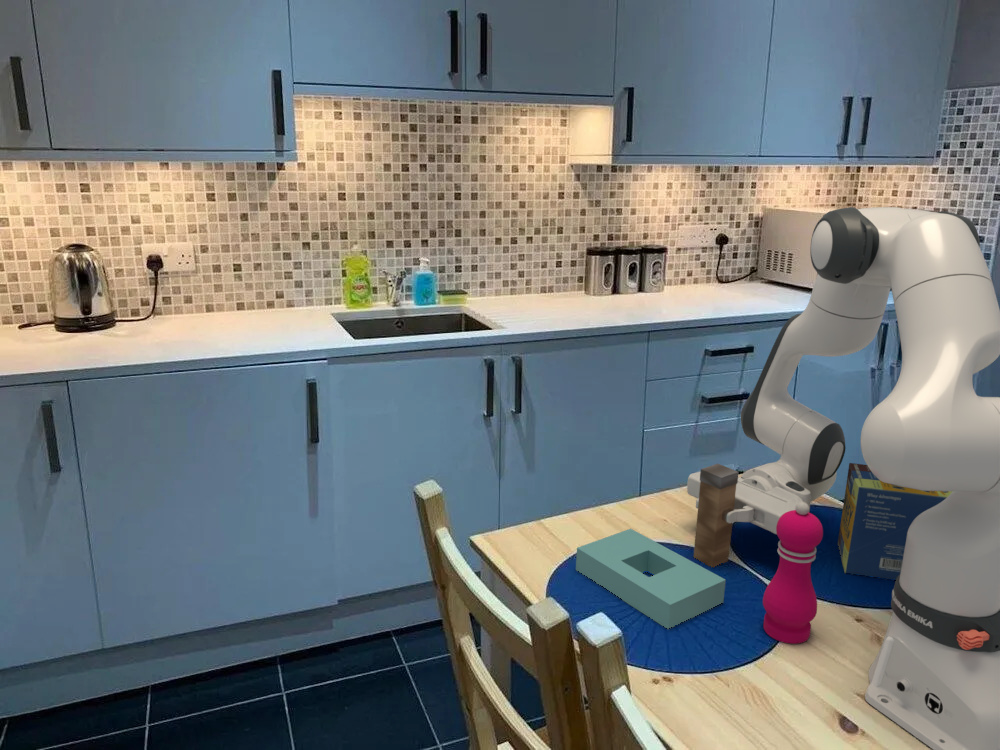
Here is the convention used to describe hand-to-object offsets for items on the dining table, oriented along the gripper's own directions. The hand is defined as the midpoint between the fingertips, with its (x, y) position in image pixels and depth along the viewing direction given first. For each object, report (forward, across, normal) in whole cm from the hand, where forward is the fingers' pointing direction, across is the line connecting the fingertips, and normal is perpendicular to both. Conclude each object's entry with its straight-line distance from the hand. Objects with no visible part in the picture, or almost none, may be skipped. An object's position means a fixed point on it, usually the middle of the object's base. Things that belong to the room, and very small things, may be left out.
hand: (712, 511), depth 131 cm
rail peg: (-1, 0, +9) cm, 9 cm away
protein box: (-24, +18, +9) cm, 31 cm away
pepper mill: (+6, +20, +9) cm, 23 cm away
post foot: (+14, 0, +9) cm, 17 cm away
